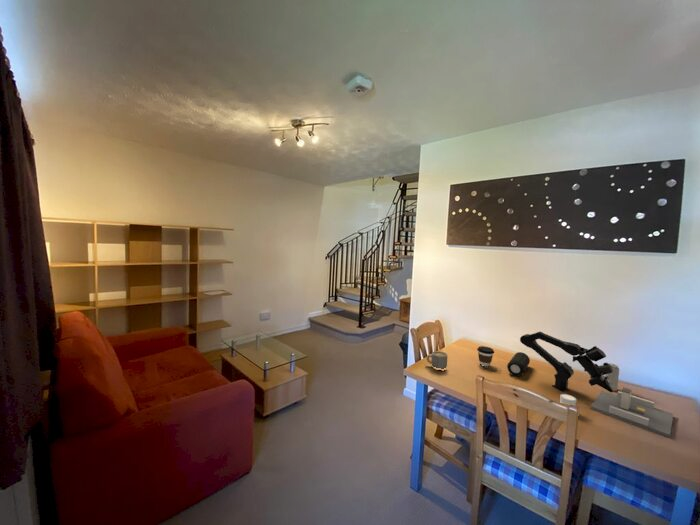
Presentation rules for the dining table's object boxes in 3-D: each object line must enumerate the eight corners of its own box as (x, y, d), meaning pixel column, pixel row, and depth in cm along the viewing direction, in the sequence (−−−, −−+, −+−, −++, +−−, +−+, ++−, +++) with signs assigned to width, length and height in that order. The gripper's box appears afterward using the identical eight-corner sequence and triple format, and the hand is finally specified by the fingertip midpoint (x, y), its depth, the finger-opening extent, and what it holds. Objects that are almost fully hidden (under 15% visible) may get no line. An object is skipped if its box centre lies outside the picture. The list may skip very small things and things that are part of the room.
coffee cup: (483, 369, 195) (484, 352, 195) (472, 362, 206) (473, 346, 205) (496, 368, 198) (498, 351, 197) (485, 361, 209) (487, 345, 208)
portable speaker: (514, 362, 208) (515, 349, 208) (529, 367, 202) (530, 353, 201) (505, 374, 189) (506, 359, 188) (523, 379, 183) (524, 364, 182)
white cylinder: (576, 415, 145) (577, 402, 144) (559, 410, 148) (560, 398, 148) (574, 409, 150) (575, 396, 150) (558, 404, 154) (559, 392, 153)
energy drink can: (601, 386, 177) (603, 362, 176) (611, 386, 176) (613, 363, 175) (609, 391, 171) (612, 366, 170) (619, 391, 170) (622, 367, 169)
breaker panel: (590, 408, 151) (591, 400, 151) (601, 393, 168) (602, 385, 168) (669, 437, 129) (670, 428, 129) (673, 416, 146) (674, 408, 146)
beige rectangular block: (620, 407, 150) (621, 389, 149) (621, 403, 153) (623, 387, 153) (628, 410, 148) (630, 392, 147) (629, 406, 151) (631, 389, 150)
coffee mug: (448, 367, 196) (449, 353, 195) (443, 372, 188) (444, 358, 187) (430, 362, 204) (430, 348, 203) (424, 366, 196) (425, 352, 196)
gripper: (598, 362, 151) (625, 391, 144) (605, 354, 163) (630, 381, 155) (578, 371, 158) (602, 399, 150) (587, 363, 170) (610, 389, 162)
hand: (612, 392), depth 154 cm, fingers closed
